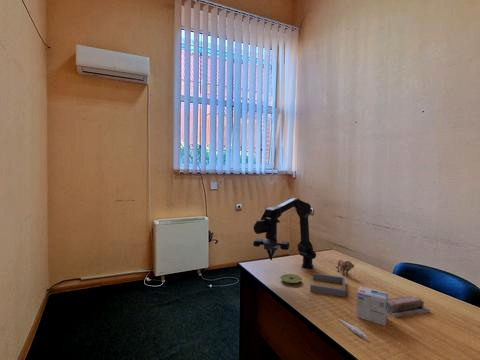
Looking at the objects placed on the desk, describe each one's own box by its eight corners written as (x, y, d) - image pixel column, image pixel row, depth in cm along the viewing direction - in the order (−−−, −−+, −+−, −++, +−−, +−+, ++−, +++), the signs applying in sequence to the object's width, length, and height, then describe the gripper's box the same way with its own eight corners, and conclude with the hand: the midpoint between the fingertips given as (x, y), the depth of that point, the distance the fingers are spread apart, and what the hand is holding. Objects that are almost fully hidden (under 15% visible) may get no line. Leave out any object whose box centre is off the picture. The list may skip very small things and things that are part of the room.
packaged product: (395, 307, 109) (377, 295, 118) (395, 319, 109) (377, 306, 119) (431, 302, 113) (410, 291, 123) (430, 313, 113) (410, 301, 123)
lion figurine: (355, 277, 148) (355, 261, 147) (346, 278, 147) (347, 262, 146) (339, 268, 162) (339, 253, 162) (331, 268, 161) (331, 253, 160)
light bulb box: (387, 318, 109) (388, 292, 108) (385, 326, 103) (386, 299, 102) (359, 310, 115) (359, 285, 114) (355, 317, 109) (356, 291, 108)
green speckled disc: (276, 282, 141) (276, 279, 141) (285, 275, 150) (285, 272, 150) (297, 288, 135) (297, 284, 135) (305, 280, 144) (305, 276, 144)
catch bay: (312, 278, 146) (312, 273, 146) (344, 283, 141) (344, 277, 141) (310, 291, 131) (310, 285, 131) (345, 296, 126) (345, 290, 126)
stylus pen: (370, 340, 95) (370, 334, 95) (364, 341, 94) (364, 336, 94) (339, 319, 109) (339, 314, 109) (334, 321, 108) (334, 316, 108)
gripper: (250, 233, 140) (250, 262, 141) (286, 236, 134) (285, 267, 135) (256, 228, 151) (256, 256, 152) (289, 231, 145) (289, 260, 145)
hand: (271, 259), depth 146 cm, fingers closed
